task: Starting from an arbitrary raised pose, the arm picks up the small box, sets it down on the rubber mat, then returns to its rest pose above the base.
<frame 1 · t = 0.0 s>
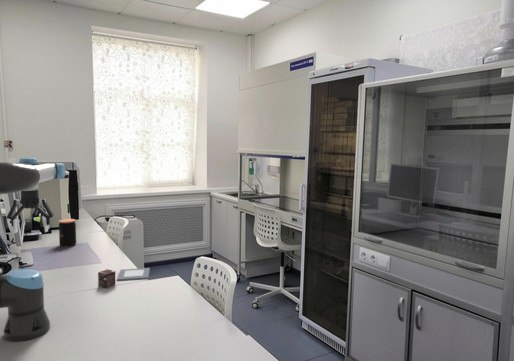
hand: (31, 232, 185), 28 cm above the table, fingers open, 13 cm apart
box: (107, 286, 191), on the table
coffee jar: (68, 245, 266), on the table
mat: (134, 274, 207), on the table
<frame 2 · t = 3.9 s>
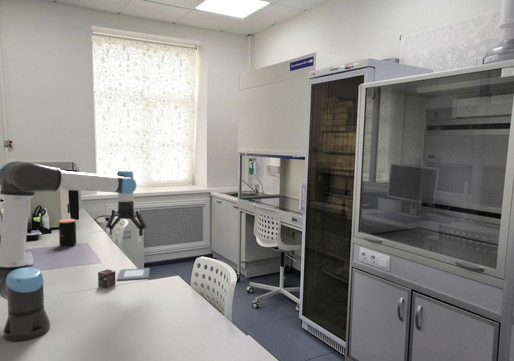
hand: (126, 241, 192), 22 cm above the table, fingers open, 13 cm apart
nothing on the table moved.
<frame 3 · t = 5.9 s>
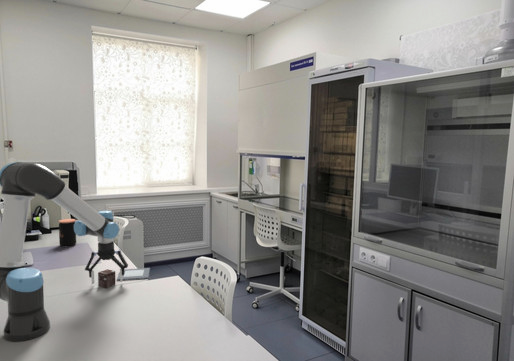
hand: (107, 282, 191), 2 cm above the table, fingers open, 13 cm apart
nothing on the table moved.
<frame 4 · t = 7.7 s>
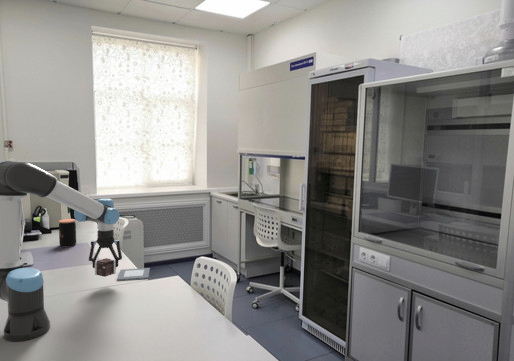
hand: (105, 273, 190), 6 cm above the table, fingers closed on box, 8 cm apart
box: (105, 274, 190), point 6 cm above the table, touching gripper
everything else where it was.
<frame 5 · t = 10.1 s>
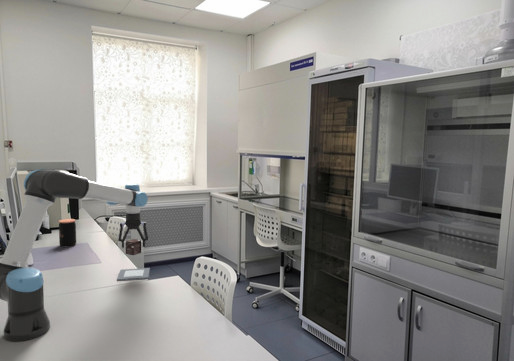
hand: (133, 253, 206), 12 cm above the table, fingers closed on box, 8 cm apart
box: (133, 253, 206), point 12 cm above the table, touching gripper
everything else where it was.
when the fingers open (1 cm above the table, at t = 12.4 s): box stays where it is, resting on mat.
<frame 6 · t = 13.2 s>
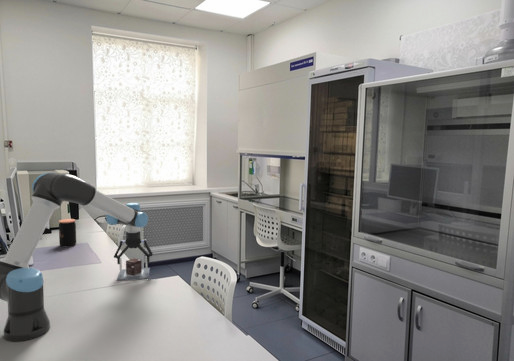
hand: (133, 269, 207), 3 cm above the table, fingers open, 13 cm apart
box: (133, 273, 207), point 1 cm above the table, touching mat
everything else where it was.
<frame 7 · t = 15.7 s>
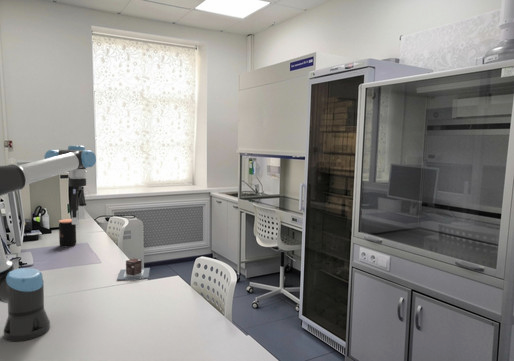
hand: (78, 221, 181), 34 cm above the table, fingers open, 13 cm apart
nothing on the table moved.
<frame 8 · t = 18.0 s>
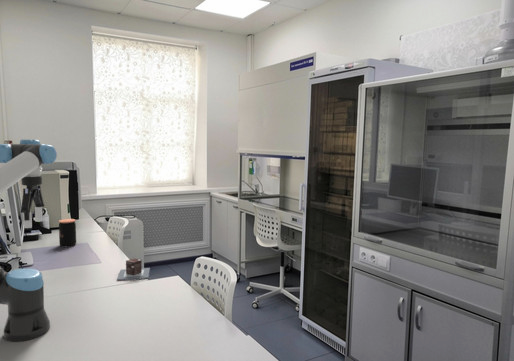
hand: (33, 224, 162), 37 cm above the table, fingers open, 13 cm apart
nothing on the table moved.
at the end: box inside the target area on the mat (0.1 cm from its centre), point 0.7 cm above the mat's base; box tilted 0°; the gripper is holding nothing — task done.
